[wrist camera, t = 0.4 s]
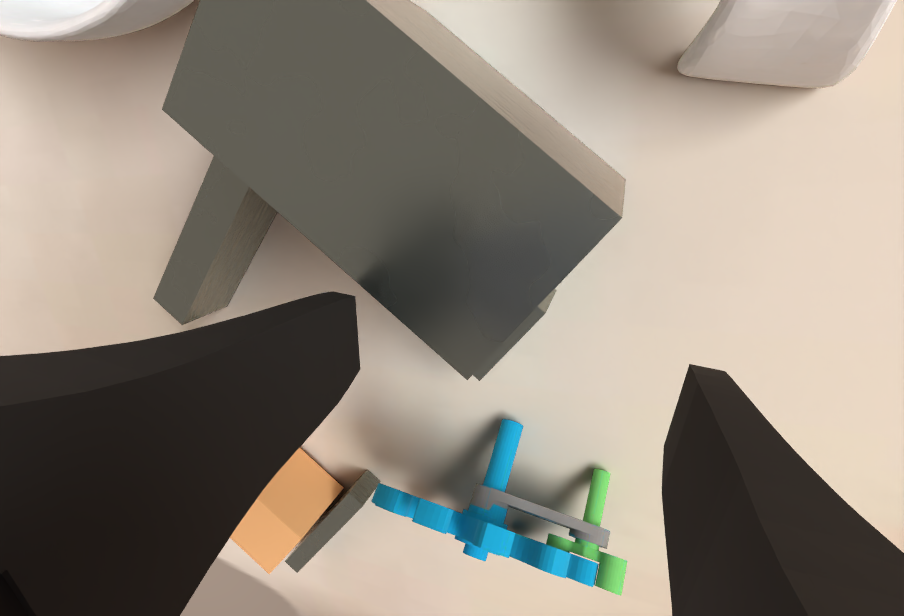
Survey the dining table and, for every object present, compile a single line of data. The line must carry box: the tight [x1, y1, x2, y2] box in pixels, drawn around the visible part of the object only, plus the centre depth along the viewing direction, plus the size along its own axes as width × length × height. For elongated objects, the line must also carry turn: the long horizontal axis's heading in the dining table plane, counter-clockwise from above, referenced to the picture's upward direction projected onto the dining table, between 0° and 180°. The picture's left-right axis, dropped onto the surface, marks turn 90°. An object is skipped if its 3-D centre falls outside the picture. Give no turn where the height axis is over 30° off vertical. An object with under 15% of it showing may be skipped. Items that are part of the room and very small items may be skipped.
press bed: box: [153, 0, 626, 573], centre depth 20 cm, size 28×15×10 cm, turn 143°
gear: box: [372, 419, 627, 595], centre depth 22 cm, size 11×6×10 cm
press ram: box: [230, 448, 343, 574], centre depth 27 cm, size 4×10×4 cm, turn 53°
